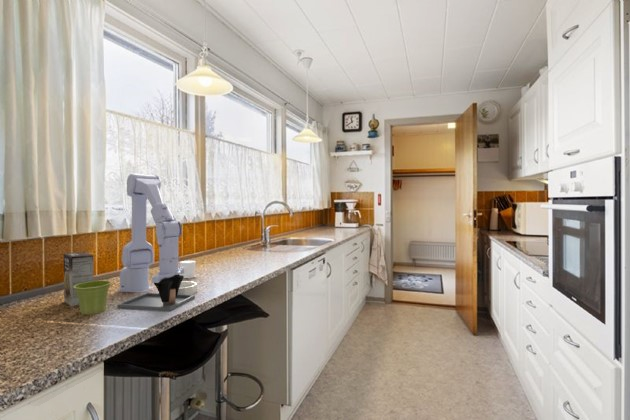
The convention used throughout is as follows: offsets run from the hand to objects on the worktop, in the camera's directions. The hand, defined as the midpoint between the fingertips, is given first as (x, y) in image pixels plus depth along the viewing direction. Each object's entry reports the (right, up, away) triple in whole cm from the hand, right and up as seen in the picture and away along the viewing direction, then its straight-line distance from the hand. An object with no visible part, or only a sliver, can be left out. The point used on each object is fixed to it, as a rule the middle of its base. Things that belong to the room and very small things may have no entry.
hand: (169, 299), depth 109 cm
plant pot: (-20, -2, -8) cm, 21 cm away
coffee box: (-31, -2, +2) cm, 31 cm away
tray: (-4, -2, +1) cm, 4 cm away
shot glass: (-9, -1, +40) cm, 41 cm away
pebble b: (0, -1, 0) cm, 1 cm away
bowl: (-2, -1, +14) cm, 14 cm away
